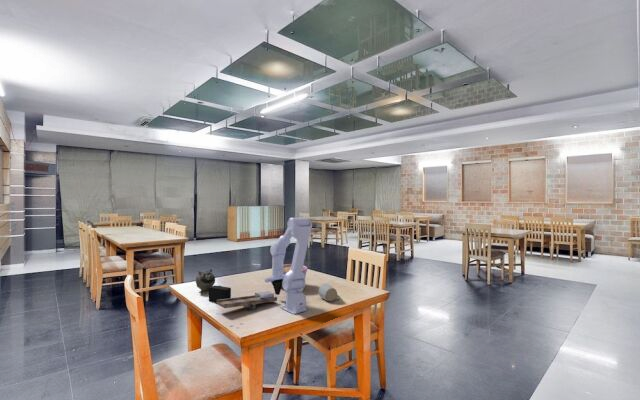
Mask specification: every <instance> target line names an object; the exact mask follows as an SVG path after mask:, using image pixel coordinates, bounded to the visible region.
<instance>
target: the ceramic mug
mask: <svg viewBox="0 0 640 400" xmlns="http://www.w3.org/2000/svg"><path fill="white" fill-rule="evenodd" d="M317 291H318V295H319V297H320V298H322V299H324V300H325V301H327V302H329V301H330V302H333V301H335V300H336V299H337V300H340V299H341V296H340V295H338V292H337V290H336V288H335V287H333V286H331V285H330V283H329V284H328V283H322V284H321V285H320V286H319V287H318V290H317Z"/></svg>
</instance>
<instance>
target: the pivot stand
mask: <svg viewBox="0 0 640 400" xmlns="http://www.w3.org/2000/svg"><path fill="white" fill-rule="evenodd" d="M242 307H244V308H246V309H247V310H249V311H251V312H253V311H256V304H253V305H245V306H242Z"/></svg>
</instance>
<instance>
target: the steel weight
mask: <svg viewBox="0 0 640 400" xmlns="http://www.w3.org/2000/svg"><path fill="white" fill-rule="evenodd" d="M254 295H255V297H254V298H256V299H265V298H272V297H275V292H271V291H269V290H267V291H266V290H265V291H257V292H255V293H254Z"/></svg>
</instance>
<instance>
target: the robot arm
mask: <svg viewBox="0 0 640 400" xmlns="http://www.w3.org/2000/svg"><path fill="white" fill-rule="evenodd" d="M286 223H287V224H286V225H287V228H286V230H285V232H284V233H283V235H279V238H278V240H277V241H276V243H274V244H272V245H271V246H270V248H269V249H270V255H271V256H272V259H271V260H272V267H271V268H272V270H271V271H272V273H271V275H270V276H268V277H265V278H264V283H267V284H268V283H271V284H272V286H273V289H274V295H276V296H277V295H278V296H279V295H280V294H281V291H282V289H283V290H284V291H285V306H283V307H282V308H281V309H282V310H284V311H286V312H289V313H291V314H292V315H297V314H300V313H302V312H306V311H307V310H308V309H307V308H306V307H307V305H306V304H307V297H306V295H305V293H303V291H304V289H305V287H306V278H307V277H306V276H305V274H304V273H303V272H302V268H303V265H304V263H305V259H306V255H307V251H308V250H307V249H308V245H309V240H310V237H311V232H312V228H313V224H312V220H311V219H310V217H308V216H306V217H290V218H289V219H288V220H287V222H286ZM292 238H294V239H295V240H296V241H295V242H296V243H295V246H294V252H293V256H292V261H291V264H292V265H291V270H290V271H289V272H287V273H286V274H283V266H284V262H285V261H284V260H285V258H286V253H287V250H286V249H287V248H288V246H289V245H290V243H291V239H292ZM282 286H283V287H282Z"/></svg>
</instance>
